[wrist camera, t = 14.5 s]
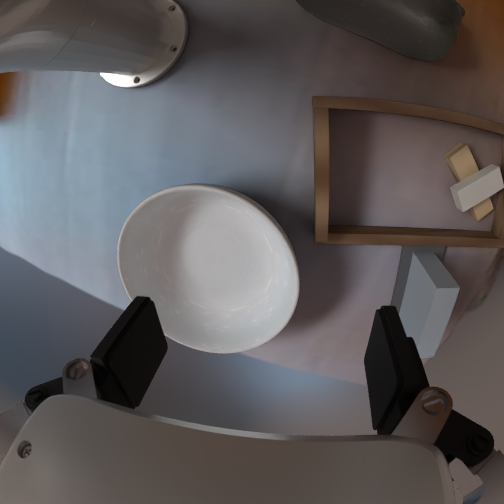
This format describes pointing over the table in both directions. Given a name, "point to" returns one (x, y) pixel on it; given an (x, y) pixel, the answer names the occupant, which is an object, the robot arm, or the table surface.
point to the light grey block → (427, 302)
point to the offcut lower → (467, 175)
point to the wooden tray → (499, 236)
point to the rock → (396, 23)
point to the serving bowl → (210, 267)
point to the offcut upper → (477, 187)
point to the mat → (405, 267)
